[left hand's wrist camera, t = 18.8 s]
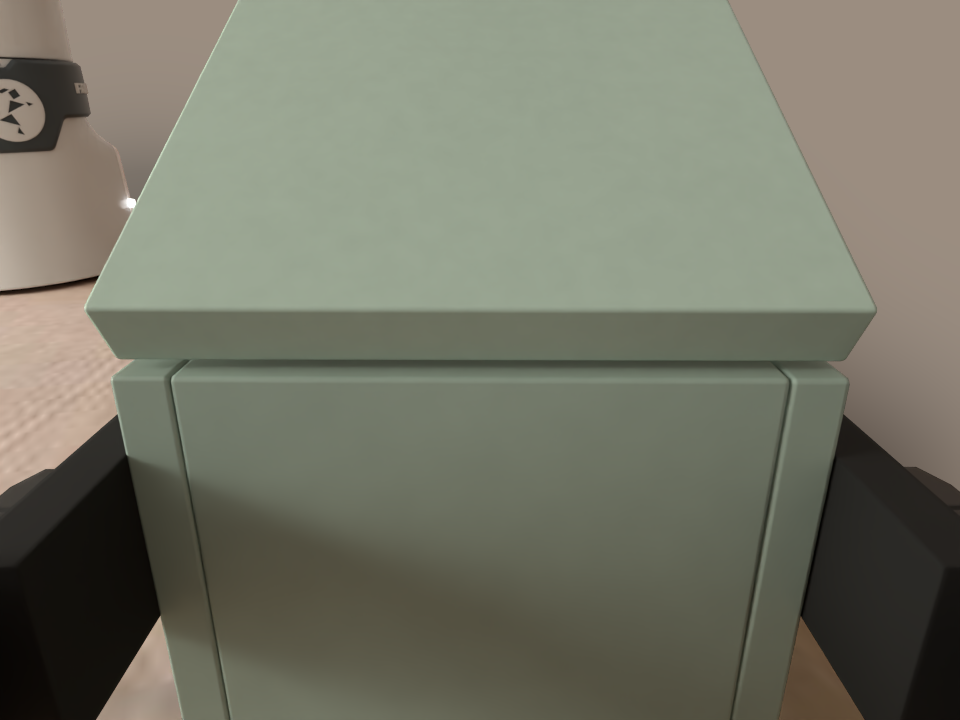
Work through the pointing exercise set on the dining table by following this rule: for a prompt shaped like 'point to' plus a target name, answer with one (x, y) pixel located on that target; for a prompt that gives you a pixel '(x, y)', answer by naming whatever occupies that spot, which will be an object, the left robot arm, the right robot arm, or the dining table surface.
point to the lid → (481, 194)
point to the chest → (480, 533)
